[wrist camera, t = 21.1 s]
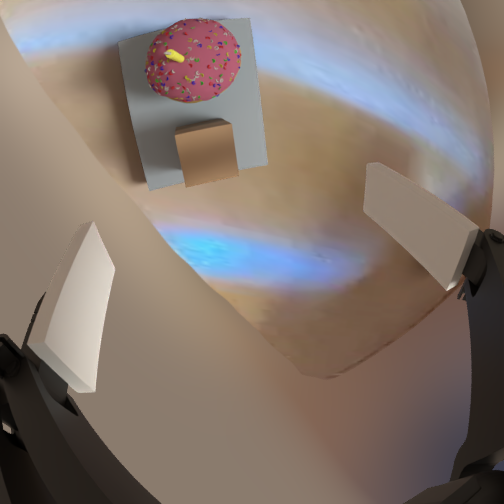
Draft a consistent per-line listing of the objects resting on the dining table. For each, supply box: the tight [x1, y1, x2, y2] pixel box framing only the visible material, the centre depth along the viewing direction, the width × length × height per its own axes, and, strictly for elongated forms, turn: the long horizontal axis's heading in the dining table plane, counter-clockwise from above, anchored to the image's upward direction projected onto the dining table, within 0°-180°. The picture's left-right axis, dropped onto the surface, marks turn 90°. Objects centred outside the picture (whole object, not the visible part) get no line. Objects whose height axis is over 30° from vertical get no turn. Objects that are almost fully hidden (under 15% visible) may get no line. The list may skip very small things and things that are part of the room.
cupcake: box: [144, 18, 241, 103], centre depth 17 cm, size 9×8×12 cm
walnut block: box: [175, 118, 239, 187], centre depth 25 cm, size 5×5×6 cm
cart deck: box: [118, 18, 268, 191], centre depth 26 cm, size 18×14×3 cm
